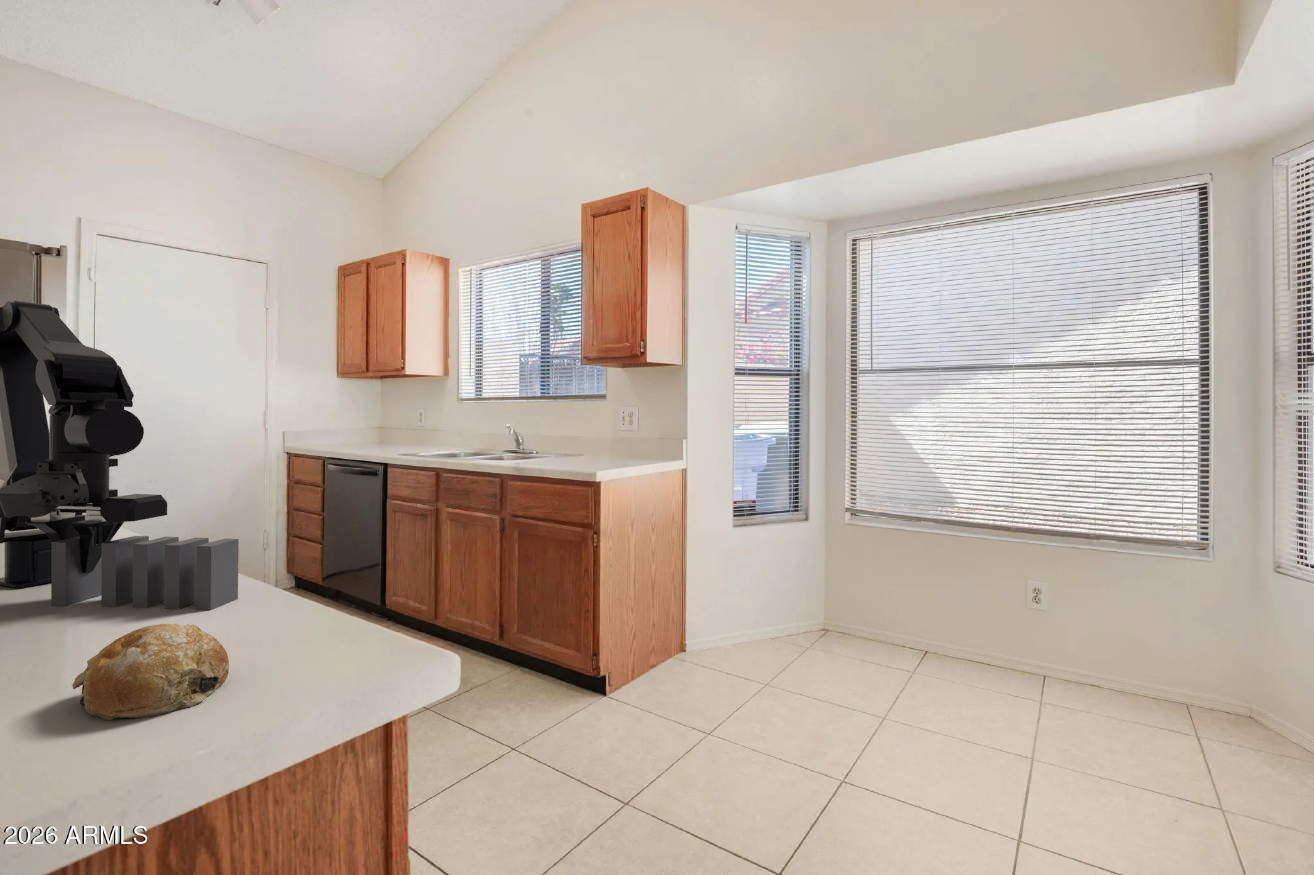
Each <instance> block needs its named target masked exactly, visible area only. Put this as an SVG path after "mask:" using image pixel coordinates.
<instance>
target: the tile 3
mask: <svg viewBox="0 0 1314 875" xmlns="http://www.w3.org/2000/svg"><path fill="white" fill-rule="evenodd" d="M179 538H180V537H179V536H163V537H157V538H154V539H149V540H148V541H144V542H140V543H135V544H133V602H132V608H133V609H149V608H152V607H154V606H157V605H160V604H164V603H165V545H167V544H171V543H175V542H179V541H180V539H179Z"/></svg>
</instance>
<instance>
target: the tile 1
mask: <svg viewBox="0 0 1314 875" xmlns="http://www.w3.org/2000/svg"><path fill="white" fill-rule="evenodd" d="M101 566H102V556H101V558H100V560H99V562H98V563H97V565H96V567H95V568H94V570H93V571H92V572H90V573H86V574H85V573H83V572H82V567H81V558H80V537H75V538H70V539H65V540H60V541H55V542H52V550H51V582H50V583H51V585H50V586H51V587H50V588H51V589H50V591H51V592H50V593H51V597H50V598H51V599H50V601H51V603H50V606H51V607H68V606H72V605H75V604H78V603H80V602H81V603H82V602H84V601H88V600H91V599H94V598H98V597H101Z"/></svg>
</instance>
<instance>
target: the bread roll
mask: <svg viewBox="0 0 1314 875" xmlns="http://www.w3.org/2000/svg"><path fill="white" fill-rule="evenodd" d="M229 660H230V659H229V655H228V653H227V651H226V649H225V647H224V646H223V644H221V643H220V641H219V640H218V639H217V637H215V636H213V635H212V634H210V633H208V632H206V631H205V630H204V631H203V630H202V629H201V628H200V627H199V626H198V625H196V624H194V623H192V624H191V623H189V624H186V625H182V624H178V623H159V624H153V625H146V626H144V627H141V628H138V629H134V630H133V631H131V632H128V633H126V634H124V635H122V636H121V637H118V638H116V639H114V640H113V641H112V642H111V643H109V644H108V645H106V646H104V647H103V648H102V649H101V650H99V652H98V653H97V654H95V655H94V656H92V657H91V658H89V659H88V660H87V661H86V662H87V666H86V668H85V669H84V670H83V671H82V672H81V673H79V674H78V675H77V676H76V677H75V678H74V681H73V683H71V687H72V689H73V690H76V689H78V688H80V687H81V686H82V687H81V692H80V693H81V695H82V696H81V698H80V699H79V704H80V705H81V706H83V707H84V710H85V711H86V713H88V714H89V715H91V716H93V717H99V718H102V719H103V720H109V721H111V720H117V719H129V718H130V719H137V718H144V717H145V718H146V717H153V716H158V715H163V714H164V715H165V714H167V713H171V712H174V711H177V710H180V709H184V708H185V709H186V708H193V707H195V706H196V705H198V704H201V703H202V701H204V700H205V699H206V698H208V697H210V695H212V694H214V692H216V690H217V689H218V688H220V687H221V686H222V685H223V684H224V683H225V682H226V680H227V679H228V676H229V671H230V661H229Z"/></svg>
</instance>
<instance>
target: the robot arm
mask: <svg viewBox="0 0 1314 875" xmlns="http://www.w3.org/2000/svg"><path fill="white" fill-rule="evenodd" d="M134 396H135V395H134V392H133V390H132V389H131V386H130V384H129V383H128V380H127V379H126V376H125V374H124V371H123V370H122V368H121V366H120V365H118V363H117V361H116V359H114V357H112V356H111V355H110V354H108V353H107V352H105V351H103V350H101V349H97V348H94V347H89V346H86V345H85V344H83V343H82V341H80V339H79V338H78V336H76V335H75V334H74V332H73V331H72V330H71V329H70V328H69V326H67V324H66V323H65V322H64V321H63V320H62V318H61V317H60V312H59V310H58V307H54V306H51V305H50V304H44V303H38V302H31V301H21V300H13V301H6V302H5V304H3V305H2V306H1V307H0V419H1V424H2V430H3V437H4V443H5V450H6V451H5V452H6V456H7V462H8V469H9V474H8V475H7V476H6V479H5V480H4V481H3V482H2V484H1V485H0V544H4V577H0V586H4V587H5V586H6V587H9V588H15V589H19V588H25V587H29V586H30V587H31V586H36V585H37V586H38V585H42V584H47V583H51V550H52V542H55V541H60V540H65V539H70V538H75V537H80V558H81V567H82V572H83V573H85V574H86V573H90V572H92V571H93V570H94V568H95V567H96V565H97V563H98V562H99V560H100V558H101V556H102V543H104V542H109V541H113V540H112V539H113V538H114V537H115V535H116V534H117V533H118V532H119V529H121V528H122V526H123V524H124V523H127V522H130V523H131V522H137V521H143V520H148V519H153V518H159V517H165V516H168V502H167V499H166V498H165V497H164V496H163V495H162V494H155V493H154V494H149V493H148V494H147V493H133V494H125V495H118V494H119V491H118V490H119V489H113V488H111V489H110V468H112V467H118V466H119V458H112V457H110V456H122V455H126V454H128V453H130V452H132V451H133V450H135V449H136V448H137V447H138V446H139V445H140V444H141V442H142V440H143V438H144V435H145V433H144V432H145V429H144V426H143V424H142V421H141V420H140V419H139V417H138V416H137V415H135V414H134V413H133V412H131V411H129V410H127V409H125V408H132V407H133V406H134V402H133V399H134ZM44 398H45V399H44ZM45 401H46V403H47V405H48V406H50V407H49V409H48V410H47V411H48V415H49V421H48V416H47V411H46V405H45ZM6 531H7V532H6Z"/></svg>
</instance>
